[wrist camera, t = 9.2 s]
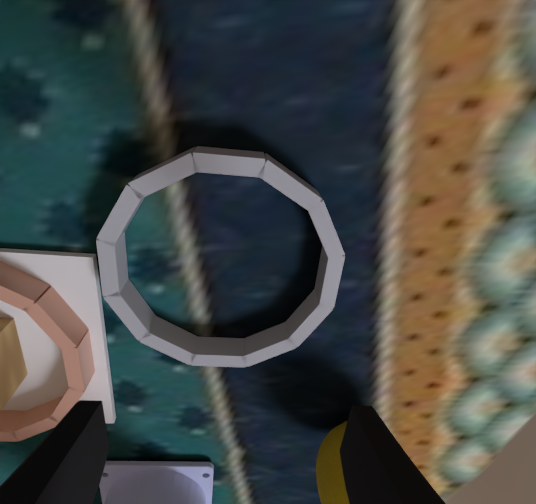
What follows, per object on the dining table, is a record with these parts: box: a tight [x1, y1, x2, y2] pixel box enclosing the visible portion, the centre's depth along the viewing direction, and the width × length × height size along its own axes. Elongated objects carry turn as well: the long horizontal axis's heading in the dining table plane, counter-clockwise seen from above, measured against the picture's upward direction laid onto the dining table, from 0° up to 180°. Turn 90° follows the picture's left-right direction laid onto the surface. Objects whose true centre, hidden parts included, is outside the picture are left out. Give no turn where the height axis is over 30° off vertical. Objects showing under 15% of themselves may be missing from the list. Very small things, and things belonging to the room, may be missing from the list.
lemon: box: [316, 421, 350, 504], centre depth 21 cm, size 6×6×8 cm
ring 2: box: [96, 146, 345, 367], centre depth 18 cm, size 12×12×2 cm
